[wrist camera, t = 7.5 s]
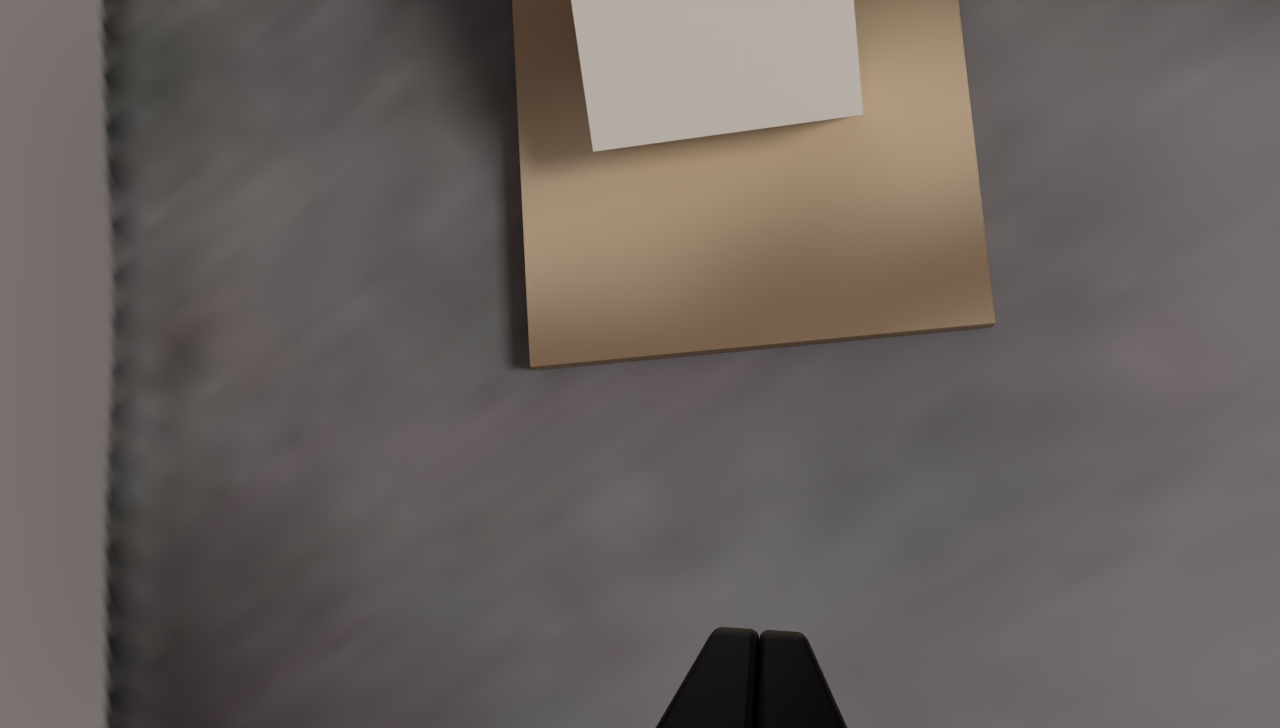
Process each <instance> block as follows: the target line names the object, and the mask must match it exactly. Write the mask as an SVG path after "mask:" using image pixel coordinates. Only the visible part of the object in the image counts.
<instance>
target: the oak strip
mask: <svg viewBox="0 0 1280 728" xmlns="http://www.w3.org/2000/svg"><path fill="white" fill-rule="evenodd" d="M512 9H513V29H514V49H515V70H516V90H517V111H518V131H519V152H520V172H521V192H522V213H523V233H524V254H525V274H526V294H527V315H528V335H529V356H530V367H531V368H534V369H536V370H543V369H554V368H565V367H575V366H586V365H597V364H607V363H618V362H628V361H639V360H650V359H660V358H671V357H681V356H692V355H703V354H713V353H724V352H734V351H745V350H756V349H766V348H777V347H787V346H798V345H809V344H819V343H830V342H840V341H851V340H862V339H872V338H883V337H894V336H904V335H915V334H925V333H936V332H947V331H957V330H968V329H978V328H989V327H993V325H994V324H995V315H994V306H993V298H992V289H991V280H990V272H989V263H988V254H987V246H986V237H985V228H984V219H983V211H982V202H981V193H980V185H979V176H978V167H977V159H976V150H975V141H974V132H973V124H972V115H971V106H970V98H969V89H968V80H967V72H966V63H965V54H964V46H963V37H962V28H961V19H960V11H959V2H958V0H854V9H855V21H856V33H857V44H858V56H859V68H860V80H861V92H862V104H863V115H857V116H850V117H843V118H836V119H828V120H821V121H814V122H806V123H799V124H792V125H784V126H777V127H770V128H763V129H755V130H748V131H741V132H733V133H726V134H719V135H712V136H704V137H697V138H690V139H682V140H675V141H668V142H660V143H653V144H646V145H639V146H631V147H624V148H617V149H609V150H602V151H595V152H593V148H592V141H591V134H590V127H589V120H588V113H587V107H586V100H585V93H584V86H583V79H582V72H581V65H580V59H579V52H578V45H577V38H576V31H575V24H574V17H573V11H572V4H571V0H512Z"/></svg>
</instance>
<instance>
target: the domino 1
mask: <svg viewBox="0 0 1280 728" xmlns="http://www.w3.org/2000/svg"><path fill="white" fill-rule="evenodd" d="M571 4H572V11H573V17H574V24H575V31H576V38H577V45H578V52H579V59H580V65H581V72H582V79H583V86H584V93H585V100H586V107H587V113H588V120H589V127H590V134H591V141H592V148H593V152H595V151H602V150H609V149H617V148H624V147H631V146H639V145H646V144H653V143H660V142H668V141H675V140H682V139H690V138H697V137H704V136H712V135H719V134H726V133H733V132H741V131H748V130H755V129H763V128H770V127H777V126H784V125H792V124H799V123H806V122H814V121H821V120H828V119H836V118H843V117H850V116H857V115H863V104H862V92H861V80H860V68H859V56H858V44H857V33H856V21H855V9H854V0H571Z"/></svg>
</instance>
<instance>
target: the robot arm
mask: <svg viewBox="0 0 1280 728" xmlns="http://www.w3.org/2000/svg"><path fill="white" fill-rule="evenodd" d="M656 728H847V726H846V724H845V722H844V719H843V717H842V715H841V713H840V710H839V708H838V706H837V704H836V701H835V699H834V697H833V695H832V693H831V690H830V688H829V686H828V684H827V681H826V679H825V677H824V675H823V672H822V670H821V668H820V666H819V664H818V661H817V659H816V657H815V655H814V652H813V650H812V648H811V646H810V643H809V641H808V640H807V638H806V637H805V636H804V635H803V634H802V633H799V632H790V631H774V630H766V631H764V632H762V634H761V635H760V639H759V635H758V633H757V632H756V631H754V630H752V629H743V628H728V627H719V628H717V629H715V630H714V631H713V632H712V633H711V635H710V636H709V638H708V640H707V641H706V643H705V645H704V646H703V648H702V650H701V652H700V653H699V655H698V657H697V658H696V660H695V662H694V663H693V665H692V667H691V669H690V670H689V672H688V674H687V675H686V677H685V679H684V680H683V682H682V684H681V686H680V687H679V689H678V691H677V692H676V694H675V696H674V697H673V699H672V701H671V703H670V704H669V706H668V708H667V709H666V711H665V713H664V714H663V716H662V718H661V720H660V721H659V723H658V725H657V726H656Z"/></svg>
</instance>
